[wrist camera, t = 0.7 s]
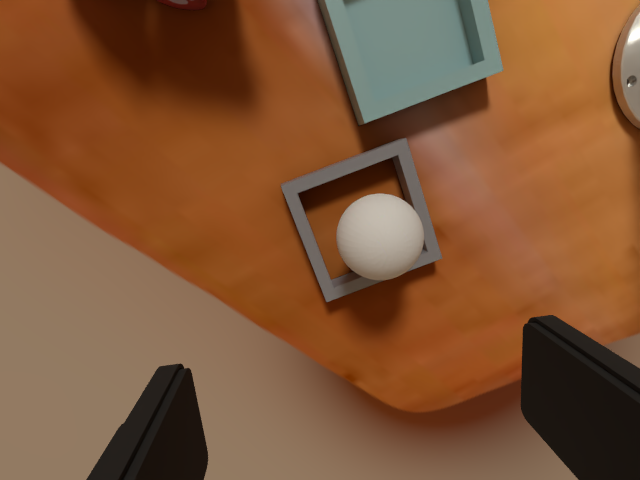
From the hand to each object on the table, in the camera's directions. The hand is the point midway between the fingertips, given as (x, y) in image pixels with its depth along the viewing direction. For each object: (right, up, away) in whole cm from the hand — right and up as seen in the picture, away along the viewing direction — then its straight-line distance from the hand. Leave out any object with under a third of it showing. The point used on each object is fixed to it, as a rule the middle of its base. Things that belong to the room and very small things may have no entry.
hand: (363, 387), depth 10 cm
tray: (+5, +21, +19) cm, 29 cm away
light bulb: (+2, +6, +22) cm, 23 cm away
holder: (+2, +6, +22) cm, 23 cm away
